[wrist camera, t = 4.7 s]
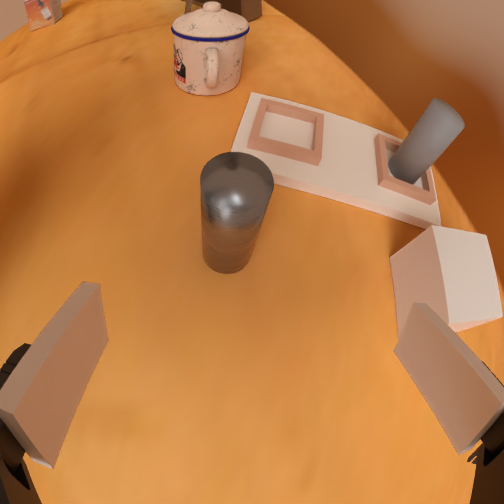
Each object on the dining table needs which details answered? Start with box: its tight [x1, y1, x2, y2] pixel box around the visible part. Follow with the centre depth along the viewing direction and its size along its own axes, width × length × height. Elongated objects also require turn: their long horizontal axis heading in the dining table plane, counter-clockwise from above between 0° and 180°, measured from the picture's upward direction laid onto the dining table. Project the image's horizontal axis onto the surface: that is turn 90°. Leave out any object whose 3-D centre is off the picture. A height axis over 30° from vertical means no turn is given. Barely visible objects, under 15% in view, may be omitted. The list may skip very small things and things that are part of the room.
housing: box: [389, 225, 503, 339], centre depth 23 cm, size 8×8×7 cm
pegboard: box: [231, 92, 464, 230], centre depth 26 cm, size 24×12×12 cm, turn 79°
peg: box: [200, 152, 274, 274], centre depth 20 cm, size 4×4×10 cm
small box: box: [24, 0, 63, 31], centre depth 38 cm, size 8×6×10 cm
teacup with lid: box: [171, 2, 249, 96], centre depth 28 cm, size 12×9×12 cm
